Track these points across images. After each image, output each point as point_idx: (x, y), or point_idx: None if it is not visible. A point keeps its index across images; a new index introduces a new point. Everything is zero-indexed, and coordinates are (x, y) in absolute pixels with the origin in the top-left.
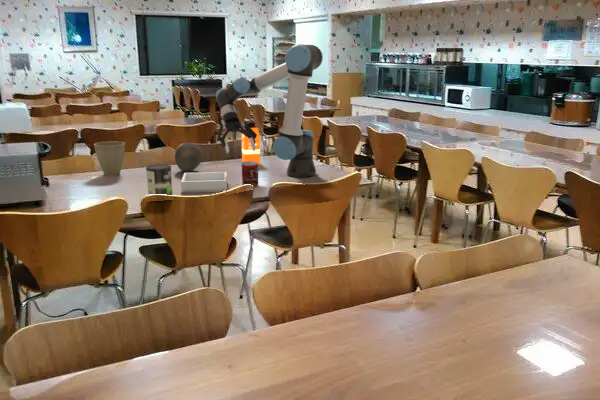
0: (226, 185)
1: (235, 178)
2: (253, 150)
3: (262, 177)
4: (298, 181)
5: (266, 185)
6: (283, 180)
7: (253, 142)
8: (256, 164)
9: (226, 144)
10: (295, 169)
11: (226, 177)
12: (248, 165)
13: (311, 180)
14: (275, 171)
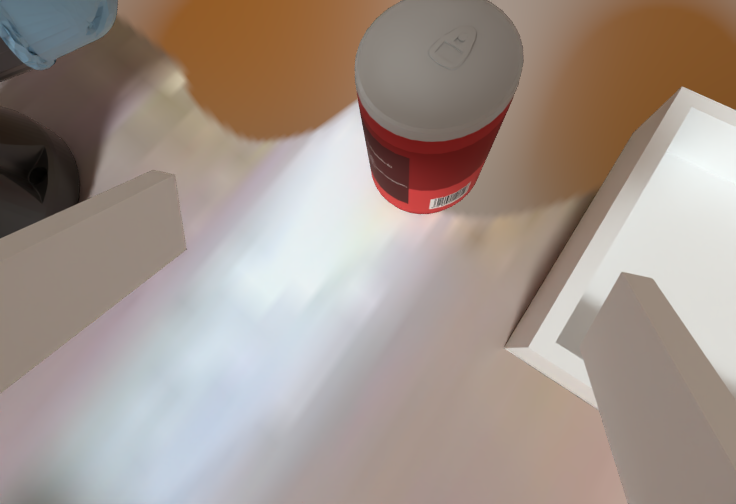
0: (632, 146)
1: (388, 405)
2: (183, 235)
3: (222, 297)
4: (146, 83)
5: (345, 112)
6: (186, 149)
7: (68, 215)
8: (408, 4)
9: (709, 375)
10: (24, 152)
11: (607, 207)
12: (493, 11)
13: (82, 61)
14: (24, 392)
